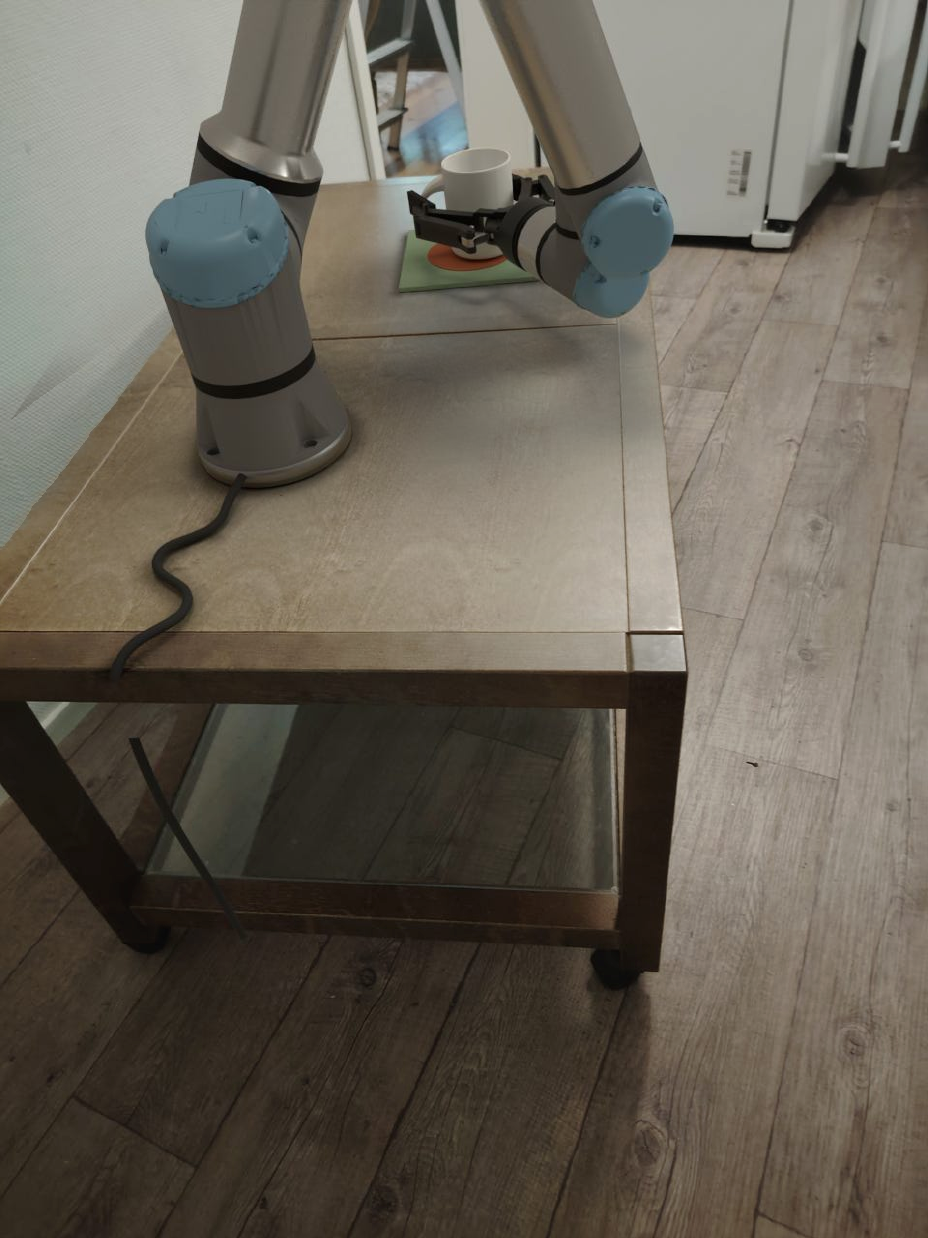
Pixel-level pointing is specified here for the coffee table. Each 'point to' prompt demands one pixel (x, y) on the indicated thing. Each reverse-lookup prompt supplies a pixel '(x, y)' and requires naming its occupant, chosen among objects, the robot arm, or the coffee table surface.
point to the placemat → (452, 268)
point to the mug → (475, 187)
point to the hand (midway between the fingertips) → (452, 188)
